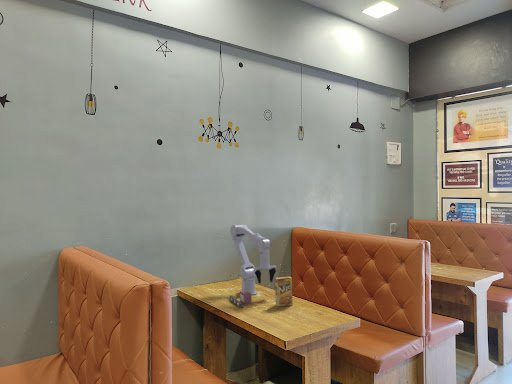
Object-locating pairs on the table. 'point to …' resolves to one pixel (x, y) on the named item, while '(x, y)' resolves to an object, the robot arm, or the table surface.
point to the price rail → (236, 301)
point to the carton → (245, 297)
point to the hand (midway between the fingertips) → (265, 282)
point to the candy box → (283, 291)
